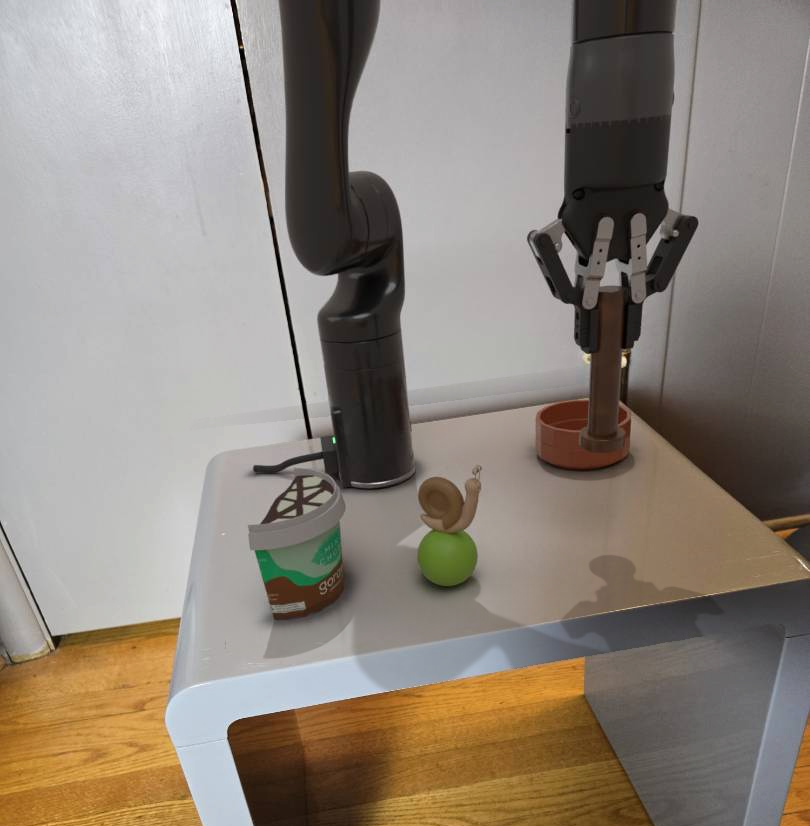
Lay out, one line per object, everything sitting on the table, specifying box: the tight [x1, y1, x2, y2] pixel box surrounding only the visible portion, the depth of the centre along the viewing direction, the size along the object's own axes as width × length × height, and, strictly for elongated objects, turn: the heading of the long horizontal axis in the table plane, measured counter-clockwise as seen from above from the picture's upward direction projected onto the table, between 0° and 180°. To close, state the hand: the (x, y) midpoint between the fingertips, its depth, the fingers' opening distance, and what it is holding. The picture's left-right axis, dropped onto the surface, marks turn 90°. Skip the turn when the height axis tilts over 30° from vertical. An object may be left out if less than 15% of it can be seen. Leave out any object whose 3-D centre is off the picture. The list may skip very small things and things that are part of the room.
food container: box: [247, 467, 347, 620], centre depth 66 cm, size 12×6×10 cm, turn 168°
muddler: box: [579, 285, 626, 453], centre depth 63 cm, size 4×4×14 cm
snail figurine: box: [416, 464, 483, 587], centre depth 65 cm, size 5×6×12 cm
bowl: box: [535, 399, 632, 470], centre depth 89 cm, size 11×11×5 cm
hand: (606, 348), depth 62 cm, fingers closed on muddler, 2 cm apart
